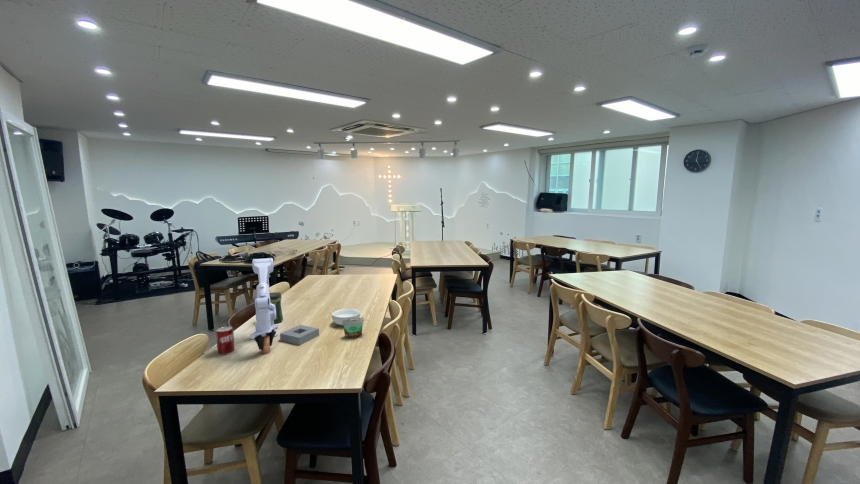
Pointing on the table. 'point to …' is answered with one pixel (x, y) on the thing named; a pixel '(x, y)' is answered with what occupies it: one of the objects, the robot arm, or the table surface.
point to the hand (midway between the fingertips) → (265, 347)
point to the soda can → (225, 340)
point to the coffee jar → (277, 305)
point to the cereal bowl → (345, 315)
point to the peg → (266, 345)
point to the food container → (353, 327)
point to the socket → (299, 334)
